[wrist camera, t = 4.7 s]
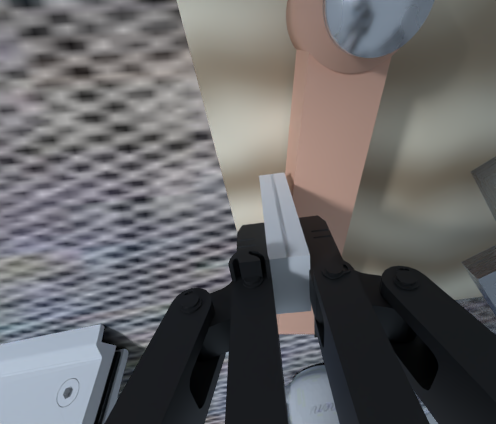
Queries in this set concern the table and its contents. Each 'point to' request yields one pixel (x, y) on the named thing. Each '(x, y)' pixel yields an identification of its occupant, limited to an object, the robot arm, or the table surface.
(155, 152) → the table surface
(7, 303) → the table surface
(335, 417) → the teacup
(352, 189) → the terracotta link
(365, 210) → the birch board
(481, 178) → the metal keeper
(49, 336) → the grey casing with slot
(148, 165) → the table surface
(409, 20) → the pintle
